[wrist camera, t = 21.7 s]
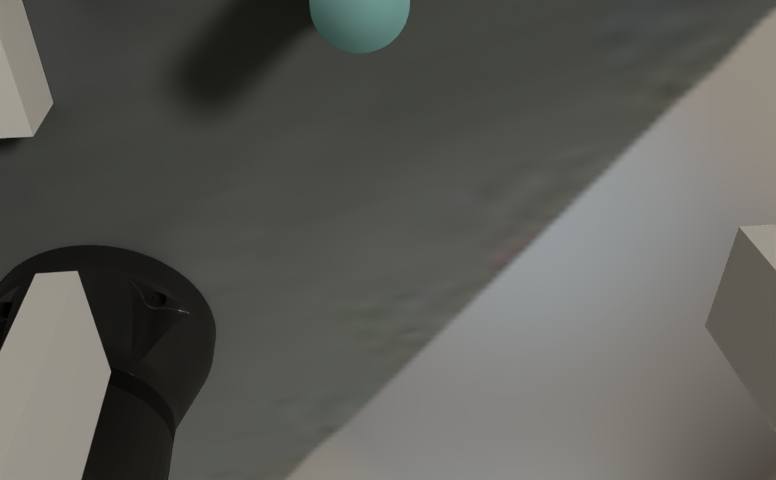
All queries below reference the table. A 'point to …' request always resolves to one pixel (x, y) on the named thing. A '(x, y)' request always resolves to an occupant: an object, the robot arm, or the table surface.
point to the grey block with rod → (20, 75)
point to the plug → (359, 22)
